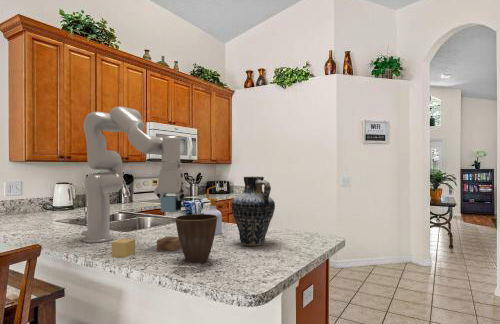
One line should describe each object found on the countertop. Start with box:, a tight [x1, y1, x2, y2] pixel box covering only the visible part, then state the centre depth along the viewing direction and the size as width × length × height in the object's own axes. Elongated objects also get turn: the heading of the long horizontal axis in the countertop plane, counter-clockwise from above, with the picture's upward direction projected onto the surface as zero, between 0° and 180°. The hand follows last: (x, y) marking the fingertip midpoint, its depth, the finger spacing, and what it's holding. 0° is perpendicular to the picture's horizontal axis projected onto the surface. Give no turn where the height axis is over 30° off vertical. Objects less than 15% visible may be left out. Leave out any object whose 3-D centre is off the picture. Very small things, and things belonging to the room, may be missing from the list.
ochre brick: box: [111, 238, 136, 258], centre depth 123 cm, size 6×6×6 cm
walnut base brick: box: [156, 235, 181, 251], centre depth 132 cm, size 8×8×4 cm
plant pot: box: [174, 213, 217, 265], centre depth 116 cm, size 15×15×16 cm
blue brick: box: [160, 195, 181, 213], centre depth 133 cm, size 6×6×6 cm
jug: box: [230, 175, 276, 246], centre depth 143 cm, size 21×19×30 cm
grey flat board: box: [143, 244, 183, 254], centre depth 132 cm, size 18×12×1 cm, turn 76°
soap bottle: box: [204, 185, 223, 236], centre depth 166 cm, size 9×9×25 cm
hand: (171, 209), depth 133 cm, fingers closed on blue brick, 6 cm apart
